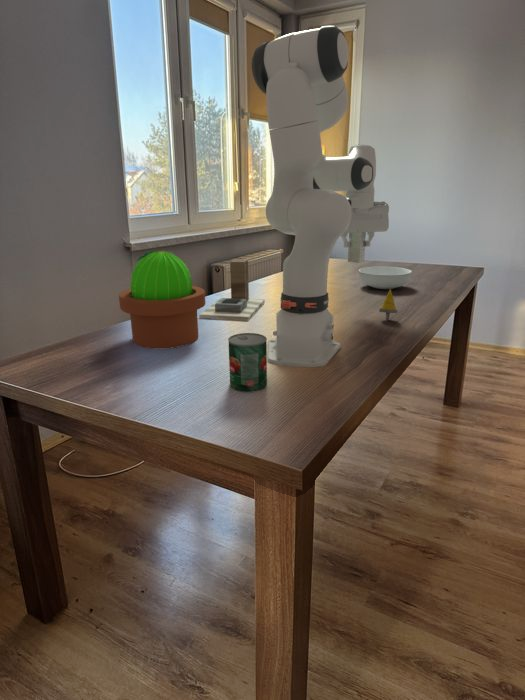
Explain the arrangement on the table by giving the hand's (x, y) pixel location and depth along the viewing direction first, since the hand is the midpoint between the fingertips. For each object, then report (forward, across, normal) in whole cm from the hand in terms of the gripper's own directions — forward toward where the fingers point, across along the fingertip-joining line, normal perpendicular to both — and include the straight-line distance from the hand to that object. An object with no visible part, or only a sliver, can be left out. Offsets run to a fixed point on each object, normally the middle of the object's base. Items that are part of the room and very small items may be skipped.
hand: (356, 246), depth 155 cm
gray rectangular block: (+5, 0, 0) cm, 5 cm away
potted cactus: (+21, +63, +14) cm, 68 cm away
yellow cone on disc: (+21, -4, +16) cm, 27 cm away
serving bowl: (+21, -28, -30) cm, 46 cm away
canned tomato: (+21, +49, +52) cm, 75 cm away
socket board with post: (+21, +38, -11) cm, 45 cm away
